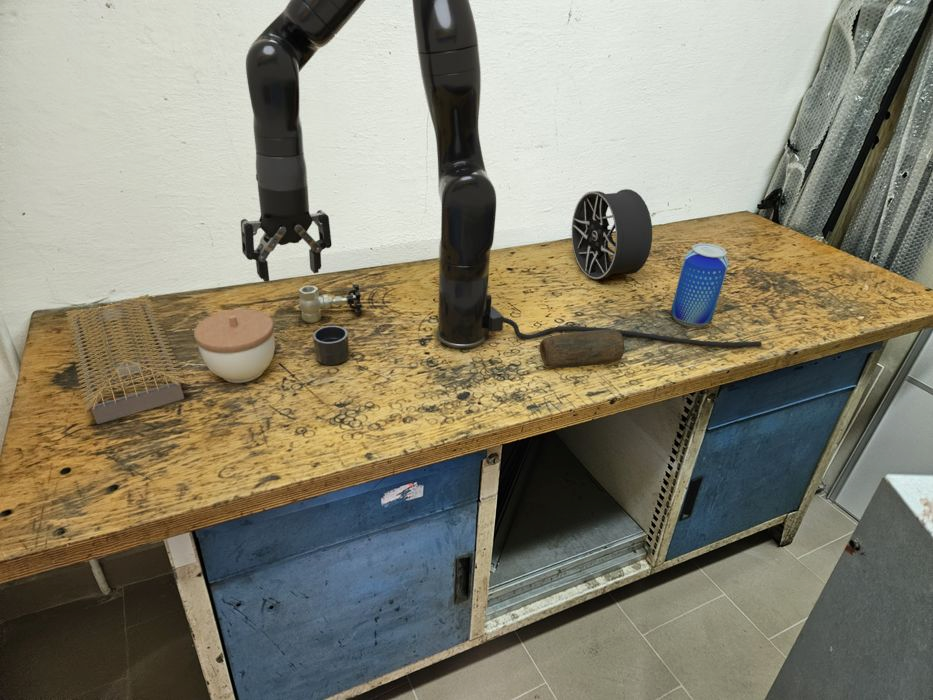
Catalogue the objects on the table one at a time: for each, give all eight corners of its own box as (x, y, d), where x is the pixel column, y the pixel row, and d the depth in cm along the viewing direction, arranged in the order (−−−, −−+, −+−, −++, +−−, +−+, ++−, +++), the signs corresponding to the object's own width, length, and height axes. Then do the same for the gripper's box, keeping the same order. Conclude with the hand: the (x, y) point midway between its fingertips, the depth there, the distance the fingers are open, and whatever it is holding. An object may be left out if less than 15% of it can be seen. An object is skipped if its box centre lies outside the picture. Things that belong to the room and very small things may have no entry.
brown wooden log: (606, 348, 114) (612, 319, 111) (623, 368, 109) (630, 338, 105) (534, 357, 111) (537, 327, 107) (548, 379, 105) (552, 347, 101)
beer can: (712, 315, 127) (733, 246, 119) (708, 333, 121) (730, 261, 112) (672, 306, 130) (690, 238, 121) (666, 323, 124) (684, 252, 115)
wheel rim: (567, 258, 150) (577, 180, 139) (598, 254, 153) (611, 177, 142) (608, 293, 134) (624, 208, 123) (642, 288, 137) (660, 205, 126)
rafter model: (191, 399, 96) (183, 368, 93) (91, 429, 90) (78, 397, 86) (152, 309, 121) (144, 282, 117) (71, 327, 114) (60, 299, 110)
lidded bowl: (188, 381, 101) (173, 325, 95) (238, 345, 111) (227, 293, 105) (248, 400, 97) (236, 343, 91) (294, 361, 107) (287, 308, 101)
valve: (302, 327, 117) (363, 320, 120) (298, 298, 113) (360, 291, 116) (300, 311, 122) (358, 305, 125) (296, 283, 119) (356, 277, 122)
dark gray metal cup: (344, 345, 112) (341, 323, 109) (353, 362, 107) (351, 338, 105) (312, 352, 109) (309, 329, 107) (320, 369, 105) (317, 346, 102)
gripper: (242, 192, 86) (255, 292, 94) (334, 183, 93) (338, 277, 102) (229, 178, 91) (241, 274, 100) (317, 170, 98) (322, 260, 107)
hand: (290, 275), depth 101 cm, fingers open, 8 cm apart
